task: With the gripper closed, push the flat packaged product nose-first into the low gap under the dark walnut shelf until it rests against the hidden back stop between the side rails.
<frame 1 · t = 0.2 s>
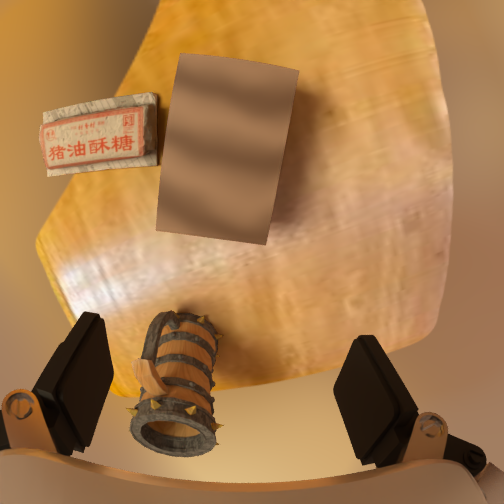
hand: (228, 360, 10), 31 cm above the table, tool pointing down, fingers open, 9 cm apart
packaged product: (98, 135, 35), on the table
mug: (182, 327, 47), on the table
walnut shelf: (225, 145, 36), on the table
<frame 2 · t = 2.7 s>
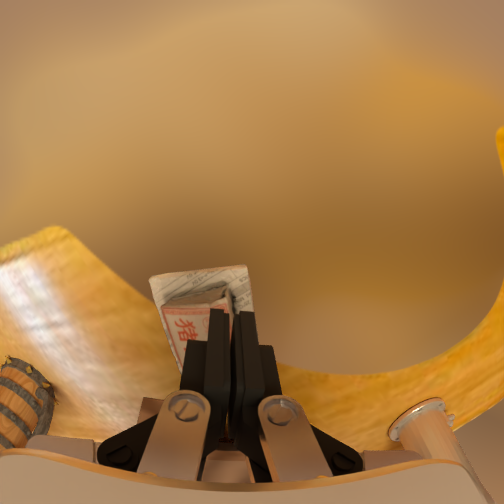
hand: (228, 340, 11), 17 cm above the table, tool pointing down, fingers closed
packaged product: (214, 336, 33), on the table
mug: (36, 380, 35), on the table
walnut shelf: (209, 427, 39), on the table
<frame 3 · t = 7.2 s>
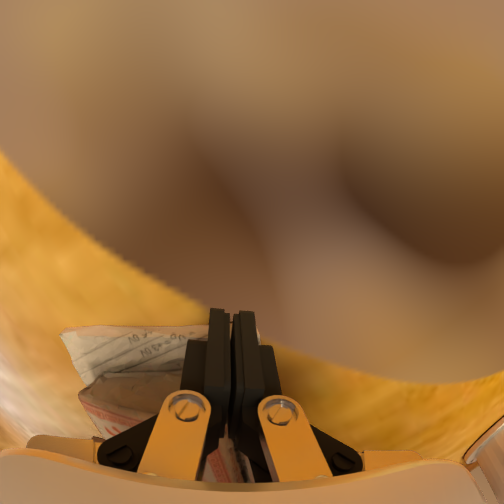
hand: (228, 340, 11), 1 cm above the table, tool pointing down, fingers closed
packaged product: (189, 424, 17), on the table, touching gripper
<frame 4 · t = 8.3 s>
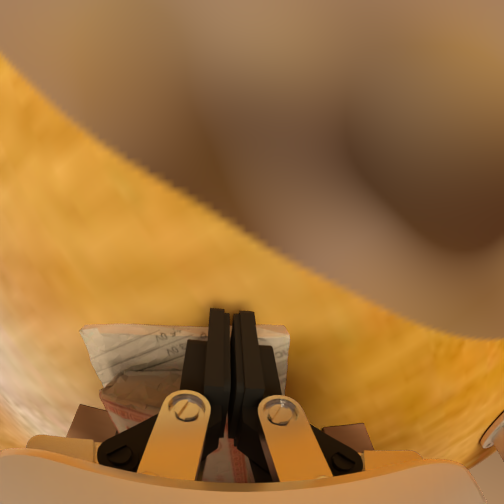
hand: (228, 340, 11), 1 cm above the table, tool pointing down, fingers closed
packaged product: (202, 423, 17), on the table, touching gripper
walnut shelf: (218, 466, 18), on the table
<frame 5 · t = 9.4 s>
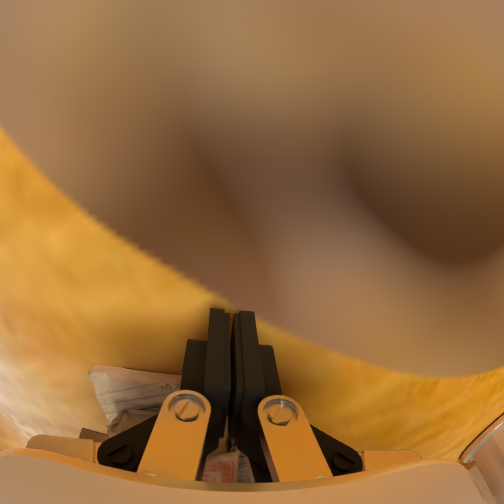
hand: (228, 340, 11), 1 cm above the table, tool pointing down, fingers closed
packaged product: (191, 447, 18), on the table
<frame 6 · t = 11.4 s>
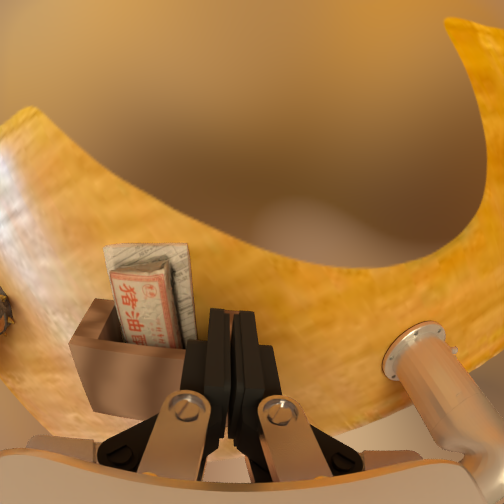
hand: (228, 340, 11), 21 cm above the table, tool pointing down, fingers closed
packaged product: (156, 307, 35), on the table
walnut shelf: (168, 343, 37), on the table
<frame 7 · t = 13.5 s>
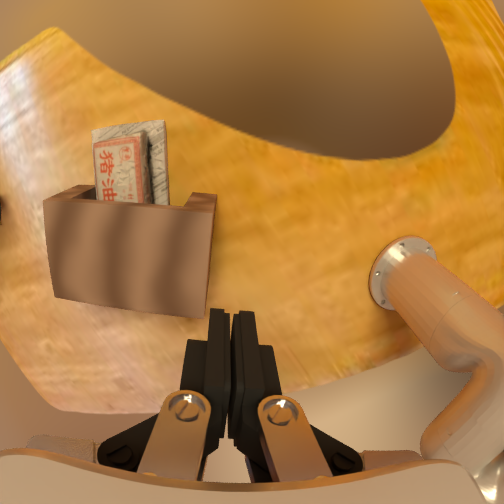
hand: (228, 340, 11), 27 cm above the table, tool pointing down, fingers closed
packaged product: (133, 192, 36), on the table
walnut shelf: (141, 233, 37), on the table
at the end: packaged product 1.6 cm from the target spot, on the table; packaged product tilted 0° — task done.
